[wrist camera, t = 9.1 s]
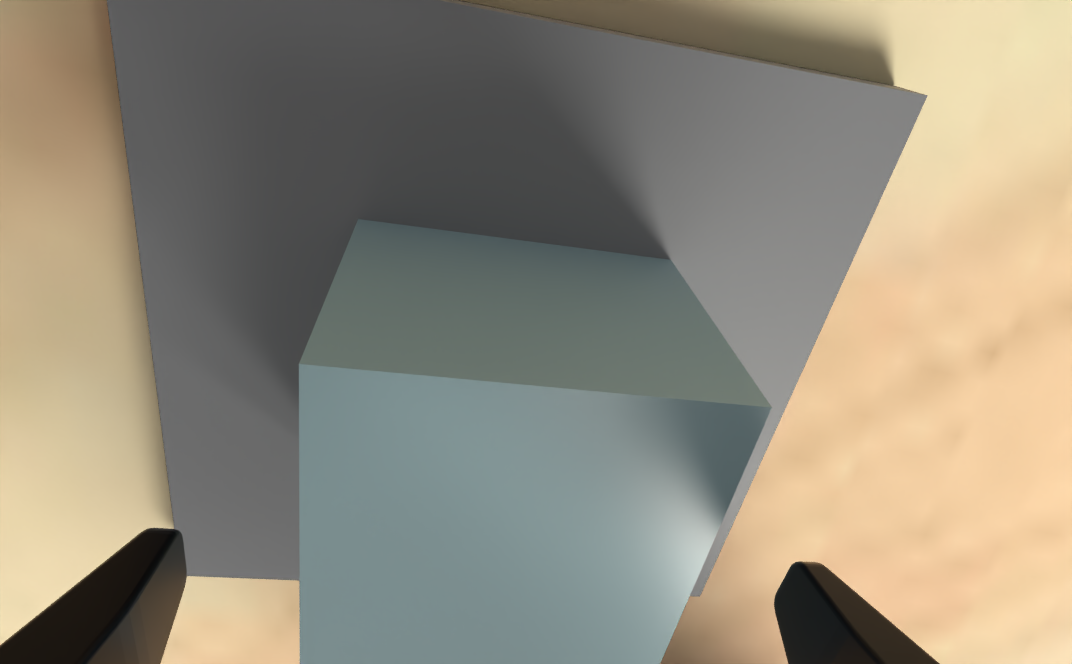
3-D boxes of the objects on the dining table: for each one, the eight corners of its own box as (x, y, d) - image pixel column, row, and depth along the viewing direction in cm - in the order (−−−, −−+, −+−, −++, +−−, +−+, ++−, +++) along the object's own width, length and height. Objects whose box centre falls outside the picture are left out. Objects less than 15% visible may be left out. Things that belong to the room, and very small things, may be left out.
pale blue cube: (671, 259, 13) (771, 407, 9) (602, 486, 16) (653, 679, 12) (358, 219, 12) (298, 364, 8) (347, 469, 15) (299, 674, 11)
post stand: (896, 86, 13) (1090, 143, 9) (689, 568, 19) (746, 723, 16) (128, -65, 10) (-80, -78, 6) (194, 544, 17) (113, 721, 13)
